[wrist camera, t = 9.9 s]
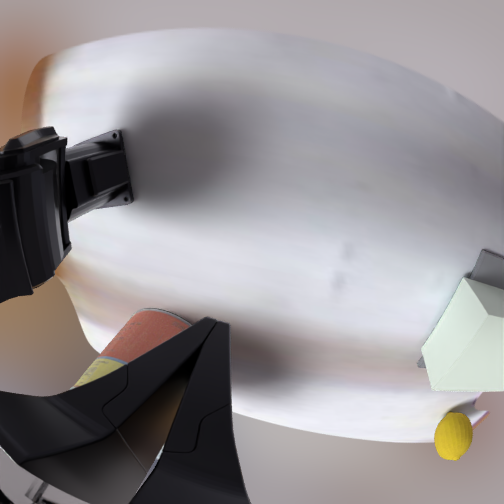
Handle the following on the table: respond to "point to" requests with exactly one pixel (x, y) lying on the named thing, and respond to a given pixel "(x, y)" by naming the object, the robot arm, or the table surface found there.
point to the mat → (484, 276)
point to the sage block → (468, 341)
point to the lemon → (453, 436)
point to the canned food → (135, 342)
